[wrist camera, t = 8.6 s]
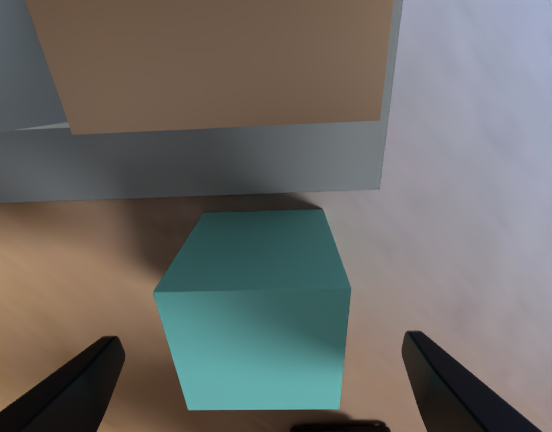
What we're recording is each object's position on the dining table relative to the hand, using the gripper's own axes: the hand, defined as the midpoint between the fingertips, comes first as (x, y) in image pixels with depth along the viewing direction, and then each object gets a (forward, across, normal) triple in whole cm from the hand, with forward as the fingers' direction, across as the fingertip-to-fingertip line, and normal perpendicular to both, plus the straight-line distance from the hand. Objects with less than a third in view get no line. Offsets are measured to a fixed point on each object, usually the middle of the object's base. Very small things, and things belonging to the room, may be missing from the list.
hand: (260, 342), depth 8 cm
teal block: (+4, 0, 0) cm, 4 cm away
